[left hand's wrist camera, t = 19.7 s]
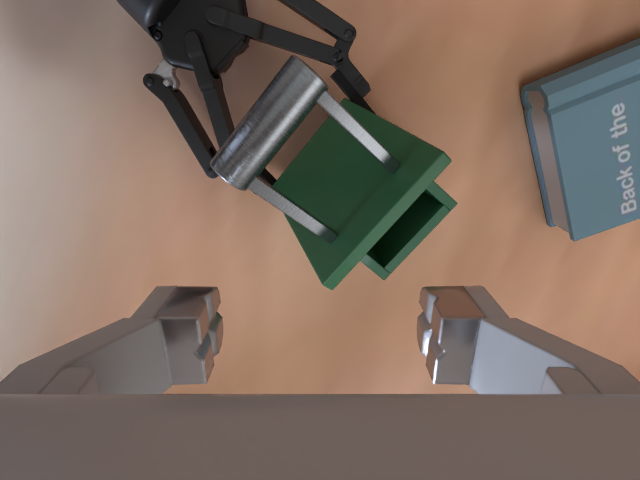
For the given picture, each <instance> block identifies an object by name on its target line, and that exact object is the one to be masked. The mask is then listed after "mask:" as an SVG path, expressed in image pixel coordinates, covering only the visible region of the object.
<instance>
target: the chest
mask: <svg viewBox="0 0 640 480" xmlns="http://www.w3.org/2000/svg"><path fill="white" fill-rule="evenodd" d="M456 205H457V202H456V201H455V200H454V199H452V198H451V197H450V196H449V195H448V194H447V193H446V192H445V191H444V190H443V189H442V188H441V187H439V186H438V185H437V184H436V183H435V182H434V181H433V182H432V183H431V184H430V185H429V186H428V187H427V188H426V190H425V191H424V192H423V193H422V194H421V195H420V196H419V197H418V198H417V199H416V200H415V201H414V203H413V204H412V205H411V206H410V207H409V208H408V209H407V210H406V211H405V212H404V213H403V214H402V216H401V217H400V218H399V219H398V220H397V221H396V222H395V223H394V224H393V225H392V226H391V227H390V229H389V230H388V231H387V232H386V233H385V234H384V235H383V236H382V237H381V238H380V239H379V240H378V241H377V243H376V244H375V245H374V246H373V247H372V248H371V249H370V250H369V251H368V252H367V253H366V254H365V256H364V257H363V258H362V259H361V260H360V261H361V262H362V263H364V264H365V265H366V266H367V267H368V268H370V269H371V270H372V271H373V272H374V273H376V274H377V275H378V276H379V277H381V278H382V279H383V280H385V279H386V278H387V277H388V276H389V275H390V273H392V272H393V271H394V270H395V269H396V268H397V266H398V265H399V264H400V263H401V262H402V261H403V260H404V259H405V258H406V257H407V256H408V255H409V254H410V253H411V252H412V251H413V250H414V249H415V248H416V247H417V246H418V244H419V243H420V242H421V241H422V240H423V239H424V238H425V237H426V236H427V235H428V234H429V233H430V232H431V231H432V230H433V229H434V228H435V227H436V226H437V225H438V224H439V222H440V221H441V220H442V219H443V218H444V217H445V216H446V215H447V214H448V213H449V212H450V211H451V210H452V209H453V208H454V207H455V206H456Z"/></svg>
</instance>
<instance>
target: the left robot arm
mask: <svg viewBox="0 0 640 480" xmlns="http://www.w3.org/2000/svg"><path fill="white" fill-rule="evenodd" d="M220 303H221V301H220V294H219V290H218V288H217V287H201V286H157V287H156V288H155V289H154V290H153V291H152V293H151V294H150V295H149V296H148V297H147V299H146V300H145V301H144V302H143V303H142V305H141V306H140V307H139V308H138V309H137V310H136V312H135V313H134V314H133V315H132V316H131V318H123V319H121V320H119V321H116V322H114V323H112V324H110V325H108V326H105V327H103V328H101V329H99V330H96V331H94V332H92V333H90V334H87V335H85V336H83V337H81V338H79V339H76V340H74V341H72V342H70V343H67V344H65V345H63V346H61V347H59V348H56V349H54V350H52V351H50V352H47V353H45V354H43V355H41V356H38V357H36V358H34V359H32V360H30V361H27V362H25V363H23V364H21V365H19V366H18V367H17V368H15V369H14V370H13V371H12V372H11V373H10V374H9V375H8V376H7V377H6V378H5V379H3V380H2V381H1V382H0V480H640V382H639V381H638V380H637V379H636V378H635V377H634V376H632V375H631V374H630V373H629V372H628V371H627V370H626V369H625V368H624V367H623V366H621V365H619V364H617V363H615V362H612V361H610V360H608V359H606V358H603V357H601V356H599V355H597V354H595V353H592V352H590V351H588V350H586V349H583V348H581V347H579V346H577V345H575V344H572V343H570V342H568V341H566V340H563V339H561V338H559V337H557V336H555V335H552V334H550V333H548V332H546V331H544V330H541V329H539V328H537V327H535V326H532V325H530V324H528V323H526V322H524V321H521V320H519V319H517V318H509V316H508V315H507V314H506V313H505V312H504V311H503V309H502V308H501V307H500V306H499V305H498V303H497V302H496V301H495V300H494V299H493V297H492V296H491V295H490V294H489V293H488V291H487V290H486V289H485V288H484V287H482V286H438V287H423V288H422V290H421V293H420V301H419V303H420V305H421V307H422V309H423V312H422V313H421V314H420V315H419V316H418V320H417V340H418V344H419V348H420V351H421V353H422V354H423V355H425V356H426V357H427V359H426V367H427V369H428V372H429V374H430V377H431V379H432V382H433V384H462V385H469V387H471V388H472V389H473V390H474V391H475V392H476V393H478V394H163V393H164V392H165V391H166V390H167V389H168V388H170V387H171V385H178V384H207V382H208V379H209V377H210V374H211V372H212V369H213V366H214V359H213V357H214V356H215V355H217V354H218V353H219V351H220V348H221V345H222V338H223V320H222V316H221V315H220V314H219V313H218V312H217V309H218V307H219V305H220Z"/></svg>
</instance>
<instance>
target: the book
mask: <svg viewBox="0 0 640 480" xmlns="http://www.w3.org/2000/svg"><path fill="white" fill-rule="evenodd" d="M520 96H521V101H522V104H523V106H524V108H525V110H524V115H525V120H526V124H527V129H528V134H529V138H530V143H531V148H532V153H533V157H534V162H535V167H536V172H537V176H538V181H539V186H540V191H541V195H542V200H543V205H544V209H545V214H546V219H547V224H548V226H550V227H554V226H558V227H560V228H562V229H563V230H565V231H567V232H568V233H569V234H570V239H571V240H573V241H577V240H580V239H583V238H585V237H588V236H591V235H594V234H597V233H600V232H603V231H605V230H608V229H611V228H614V227H617V226H620V225H622V224H625V223H628V222H631V221H634V220H637V219H639V218H640V38H637V39H635V40H633V41H630V42H628V43H625V44H623V45H621V46H618V47H616V48H613V49H611V50H609V51H606V52H604V53H601V54H599V55H596V56H594V57H592V58H589V59H587V60H584V61H582V62H580V63H577V64H575V65H572V66H570V67H567V68H565V69H563V70H560V71H558V72H555V73H553V74H551V75H548V76H546V77H543V78H541V79H539V80H536V81H534V82H531V83H529V84H526V85H524V86H523V87H522V91H521V95H520Z"/></svg>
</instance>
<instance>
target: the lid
mask: <svg viewBox="0 0 640 480" xmlns="http://www.w3.org/2000/svg"><path fill="white" fill-rule="evenodd" d="M327 90H328V86H327V84H326V83H325V82H324V81H323V79H322V78H321V77H320V76H319V75H318V74H317V73H316V72H315V71H314V70H313V69H312V68H310V67H309V66H308V65H307V64H306V63H305V62H304V61H302V60H301V59H300V58H299V57H297V56H295V55H292V56H291V57H290V58H289V59H288V61H287V62H286V63H285V64H284V66H283V67H282V68H281V70H280V71H279V72H278V74H277V75H276V76H275V78H274V79H273V80H272V81H271V83H270V84H269V85H268V87H267V88H266V89H265V91H264V92H263V93H262V95H261V96H260V97H259V98H258V100H257V101H256V102H255V104H254V105H253V106H252V108H251V109H250V110H249V112H248V113H247V114H246V115H245V117H244V118H243V119H242V121H241V122H240V123H239V125H238V126H237V127H236V128H235V130H234V131H233V132H232V134H231V135H230V136H229V138H228V139H227V140H226V142H225V143H224V144H223V145H222V147H221V148H220V149H219V151H218V152H217V153H216V155H215V156H214V157H213V159H212V160H211V161H210V165H211V167H212V168H213V170H214V171H215V172H216V173H217V174H218V175H219V176H220V177H221V178H222V179H224V180H225V181H226V182H228V183H229V184H230V185H232V186H234V187H235V188H237V189H240V190H242V191H246V190H247V189H249V190H251V191H252V192H254V193H255V194H257V195H258V196H260V197H261V198H263V199H264V200H266V201H267V202H269V203H270V204H272V205H273V206H275V207H276V208H278V209H279V210H281V211H282V212H283V213H284V215H285V217H286V218H287V220H288V222H289V224H290V226H291V228H292V229H293V231H294V233H295V235H296V237H297V239H298V241H299V242H300V244H301V246H302V248H303V250H304V252H305V253H306V255H307V257H308V259H309V261H310V263H311V265H312V266H313V268H314V270H315V272H316V274H317V276H318V277H319V279H320V281H321V283H322V285H324V286H325V287H327V288H329V289H331V290H333V289H334V288H335V287H336V286H337V285H338V284H339V283H340V282H341V280H342V279H343V278H344V277H345V276H346V275H347V274H348V273H349V272H350V271H351V270H352V269H353V267H354V266H355V265H356V264H357V263H358V262H359V261H360V260H361V259H362V258H363V257H364V256H365V254H366V253H367V252H368V251H369V250H370V249H371V248H372V247H373V246H374V245H375V244H376V243H377V241H378V240H379V239H380V238H381V237H382V236H383V235H384V234H385V233H386V232H387V231H388V230H389V229H390V227H391V226H392V225H393V224H394V223H395V222H396V221H397V220H398V219H399V218H400V217H401V216H402V214H403V213H404V212H405V211H406V210H407V209H408V208H409V207H410V206H411V205H412V204H413V203H414V201H415V200H416V199H417V198H418V197H419V196H420V195H421V194H422V193H423V192H424V191H425V190H426V188H427V187H428V186H429V185H430V184H431V183H432V182H433V181H434V180H435V179H436V178H437V177H438V175H439V174H440V173H441V172H442V171H443V170H444V169H445V168H446V167H447V166H448V165H449V164H450V163H451V159H450V158H449V157H448V156H447V155H446V153H445V152H444V151H442V150H440V149H438V148H436V147H434V146H433V145H431V144H429V143H427V142H425V141H423V140H421V139H420V138H418V137H416V136H414V135H412V134H410V133H409V132H407V131H405V130H403V129H401V128H399V127H398V126H396V125H394V124H392V123H390V122H388V121H386V120H385V119H383V118H381V117H379V116H377V115H375V114H374V113H372V112H370V111H368V110H366V109H364V108H362V107H361V106H359V105H357V104H355V103H353V102H351V101H350V100H348V99H346V98H344V99H343V100H342V102H341V103H339V102H338V101H337V100H336V99H335V98H334V97H333V96H332V95H331V94H330V93H329V92H328V91H327ZM316 104H318V105H319V106H320V107H321V108H322V109H323V110H324V111H325V112H326V113H327V114H329V115H330V116H329V117H328V119H327V120H326V121H325V122H324V124H323V125H322V126H321V127H320V128H319V130H318V131H317V132H316V133H315V135H314V136H313V137H312V138H311V139H310V141H309V142H308V143H307V144H306V146H305V147H304V148H303V149H302V150H301V152H300V153H299V154H298V155H297V156H296V158H295V159H294V160H293V161H292V163H291V164H290V165H289V166H288V167H287V169H286V170H285V171H284V172H283V174H282V175H281V176H280V177H279V178H278V180H277V181H276V182H275V183H274V185H273V186H272V185H270V184H269V183H267V182H266V181H265V180H263V179H262V178H260V177H259V174H260V173H261V172H262V171H263V169H264V168H265V167H266V166H267V164H268V163H269V162H270V161H271V159H272V158H273V157H274V156H275V155H276V153H277V152H278V151H279V150H280V148H281V147H282V146H283V145H284V143H285V142H286V141H287V140H288V138H289V137H290V136H291V135H292V133H293V132H294V131H295V130H296V128H297V127H298V126H299V125H300V123H301V122H302V121H303V120H304V118H305V117H306V116H307V115H308V114H309V112H310V111H311V110H312V109H313V107H314V106H315V105H316Z"/></svg>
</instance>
